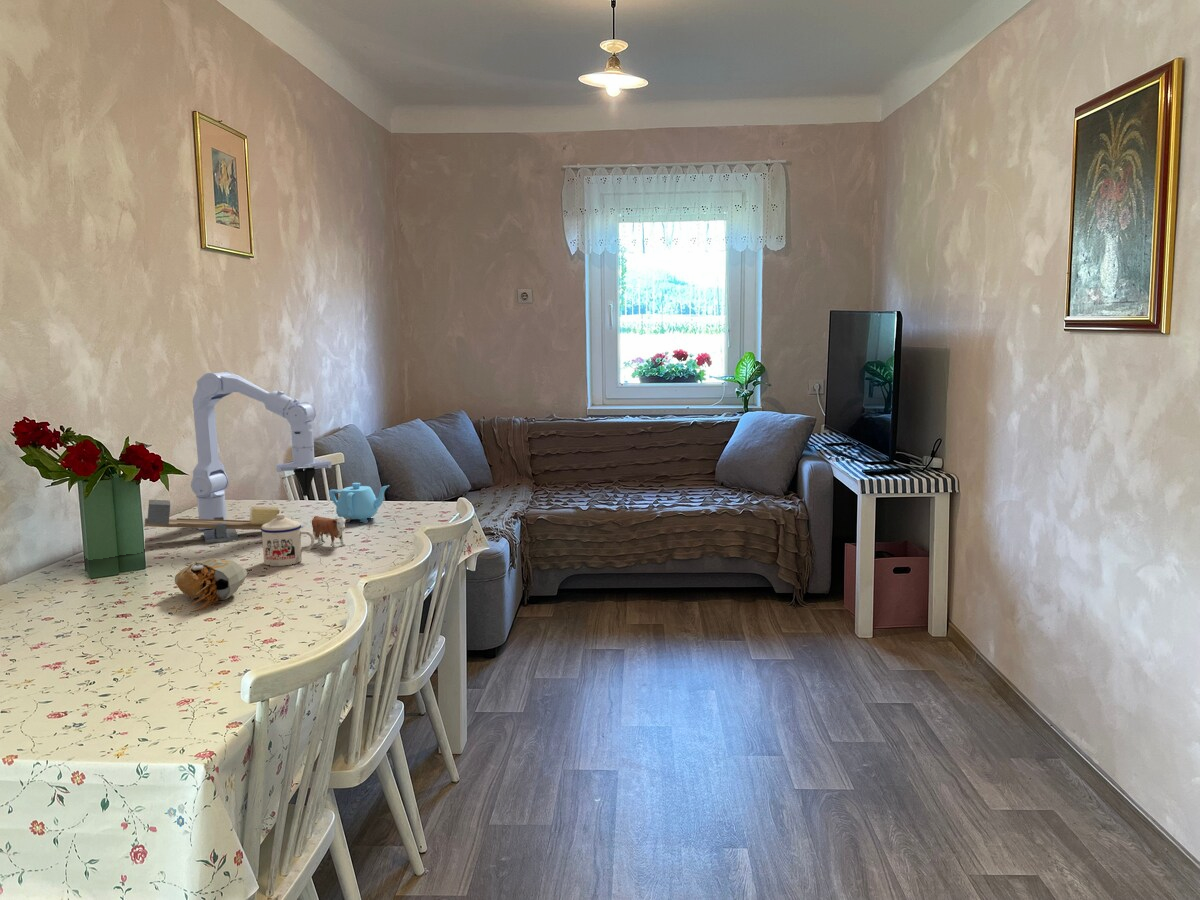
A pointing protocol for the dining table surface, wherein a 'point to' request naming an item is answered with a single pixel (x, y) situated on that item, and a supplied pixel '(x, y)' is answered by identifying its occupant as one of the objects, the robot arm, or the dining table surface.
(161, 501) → the beam
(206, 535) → the pivot stand
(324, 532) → the bull figurine
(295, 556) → the teacup with lid
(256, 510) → the block
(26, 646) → the dining table surface
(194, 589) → the nautilus
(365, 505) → the teapot
